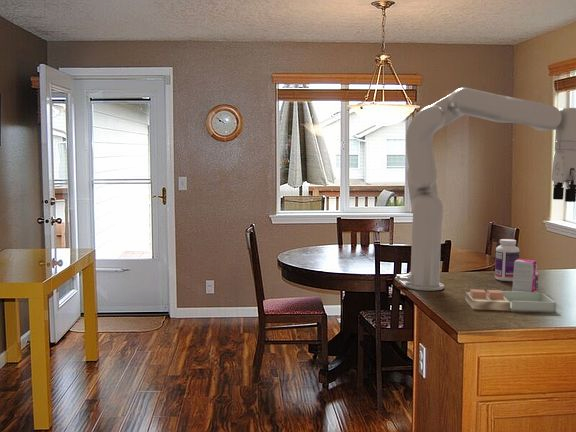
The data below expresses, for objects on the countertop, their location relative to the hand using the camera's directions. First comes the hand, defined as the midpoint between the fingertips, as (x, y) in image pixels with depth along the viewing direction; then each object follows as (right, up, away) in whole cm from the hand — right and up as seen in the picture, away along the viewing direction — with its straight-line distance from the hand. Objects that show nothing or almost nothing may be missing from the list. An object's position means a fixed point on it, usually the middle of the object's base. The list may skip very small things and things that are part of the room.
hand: (564, 200), depth 212 cm
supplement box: (-14, -31, -3) cm, 34 cm away
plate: (-30, -31, -16) cm, 46 cm away
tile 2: (-27, -29, -17) cm, 43 cm away
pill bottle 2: (-9, -30, +5) cm, 32 cm away
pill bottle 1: (-11, -28, +24) cm, 38 cm away
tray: (-18, -32, -17) cm, 40 cm away
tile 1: (-32, -29, -16) cm, 46 cm away
